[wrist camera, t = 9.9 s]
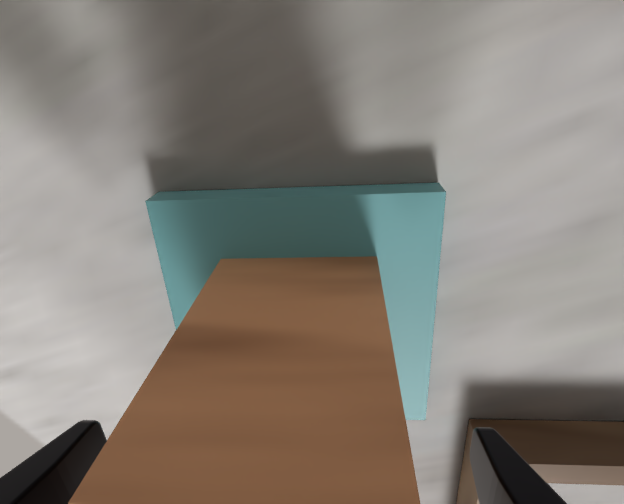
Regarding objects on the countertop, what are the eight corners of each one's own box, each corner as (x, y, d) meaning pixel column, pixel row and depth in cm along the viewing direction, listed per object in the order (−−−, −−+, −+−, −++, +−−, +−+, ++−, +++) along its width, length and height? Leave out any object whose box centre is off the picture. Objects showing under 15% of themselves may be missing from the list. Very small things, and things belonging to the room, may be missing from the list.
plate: (420, 400, 16) (425, 420, 15) (204, 397, 17) (196, 416, 16) (438, 182, 12) (445, 191, 12) (159, 191, 13) (145, 201, 12)
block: (374, 379, 15) (405, 686, 7) (240, 378, 15) (146, 666, 8) (376, 256, 13) (422, 517, 5) (221, 258, 13) (67, 502, 6)
